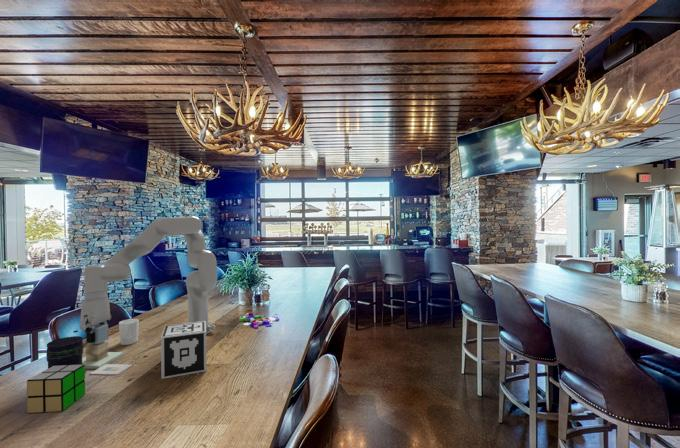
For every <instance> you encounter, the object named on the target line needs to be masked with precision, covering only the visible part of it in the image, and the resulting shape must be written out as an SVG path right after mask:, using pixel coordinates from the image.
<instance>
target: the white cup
mask: <svg viewBox="0 0 680 448" xmlns="http://www.w3.org/2000/svg"><path fill="white" fill-rule="evenodd" d="M139 325H140V320H139V319H138V318H129V319H123V320H121V321H119V322H118V328H119V329H118V330H119V339H120V345H122V346H124V345H125V346H127V345H133V344H135V343H137V342H138V341H139V339H138V338H139V327H140V326H139Z"/></svg>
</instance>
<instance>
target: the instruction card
mask: <svg viewBox="0 0 680 448" xmlns="http://www.w3.org/2000/svg"><path fill="white" fill-rule="evenodd" d="M131 367H133V364H117V363H116V364H114V363H113V364H111V363H109V364H106V365H104V366H102V367H100V368H98V369H94V370H93V371H91V372H90V373H89V375H94V376H95V375H97V376H98V375H100V376H101V375H102V376H103V375H104V376H119V375H120V374H122V373H123V372H124V371H127V370H128V369H130V368H131Z"/></svg>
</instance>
